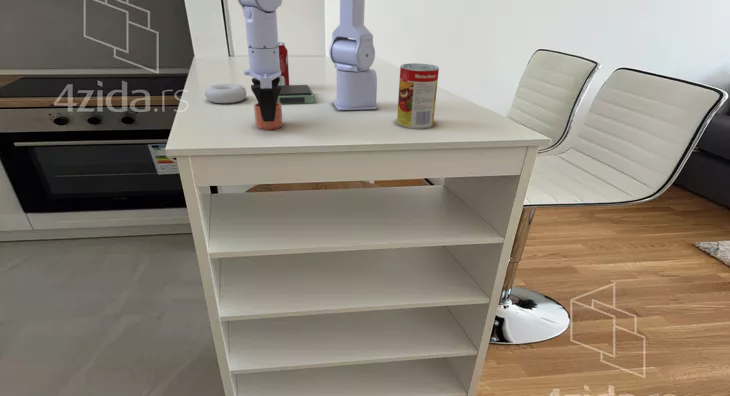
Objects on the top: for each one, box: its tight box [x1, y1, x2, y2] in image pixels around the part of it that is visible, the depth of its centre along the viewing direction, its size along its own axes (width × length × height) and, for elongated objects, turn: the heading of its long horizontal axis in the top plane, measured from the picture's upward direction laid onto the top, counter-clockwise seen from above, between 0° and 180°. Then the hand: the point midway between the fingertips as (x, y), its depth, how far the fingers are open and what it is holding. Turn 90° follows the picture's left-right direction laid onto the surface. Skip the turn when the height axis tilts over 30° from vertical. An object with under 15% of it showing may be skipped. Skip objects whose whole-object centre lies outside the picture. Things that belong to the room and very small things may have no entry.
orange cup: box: [253, 102, 283, 131], centre depth 86 cm, size 5×5×4 cm
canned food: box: [396, 62, 440, 130], centre depth 89 cm, size 8×8×12 cm
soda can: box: [278, 41, 290, 85], centre depth 118 cm, size 7×7×12 cm
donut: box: [204, 83, 247, 104], centre depth 106 cm, size 10×4×10 cm
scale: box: [277, 84, 316, 105], centre depth 109 cm, size 11×11×2 cm
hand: (268, 116), depth 87 cm, fingers closed on orange cup, 5 cm apart
